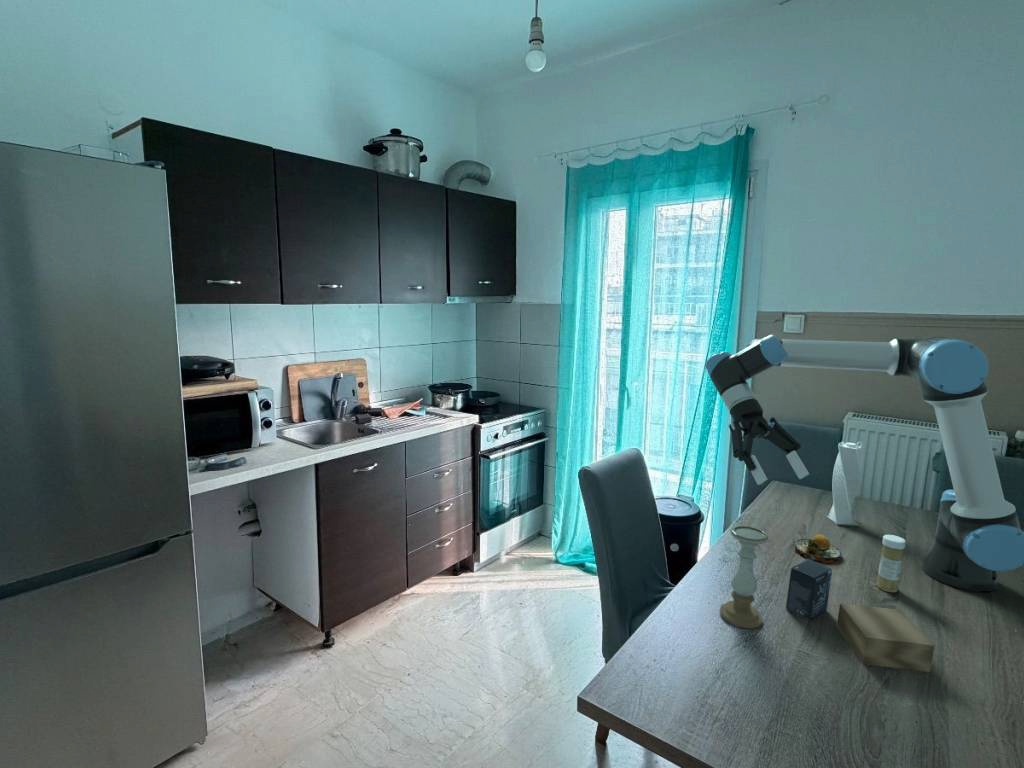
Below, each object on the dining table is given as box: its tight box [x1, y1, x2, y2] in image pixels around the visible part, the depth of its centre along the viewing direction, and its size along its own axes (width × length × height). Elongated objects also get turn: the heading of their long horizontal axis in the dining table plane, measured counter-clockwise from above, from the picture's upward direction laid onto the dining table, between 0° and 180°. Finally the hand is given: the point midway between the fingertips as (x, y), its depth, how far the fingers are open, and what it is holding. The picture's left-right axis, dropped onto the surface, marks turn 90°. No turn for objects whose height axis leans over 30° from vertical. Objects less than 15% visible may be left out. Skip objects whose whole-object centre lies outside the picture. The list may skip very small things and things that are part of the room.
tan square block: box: [836, 602, 936, 673], centre depth 110 cm, size 12×12×6 cm
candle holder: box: [719, 524, 769, 629], centre depth 118 cm, size 9×9×20 cm
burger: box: [793, 534, 842, 564], centre depth 151 cm, size 12×12×8 cm
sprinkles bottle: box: [876, 534, 907, 593], centre depth 132 cm, size 5×5×14 cm
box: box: [785, 559, 833, 621], centre depth 122 cm, size 8×6×11 cm
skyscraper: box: [824, 440, 863, 527], centre depth 171 cm, size 8×8×28 cm
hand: (784, 479), depth 128 cm, fingers open, 13 cm apart
